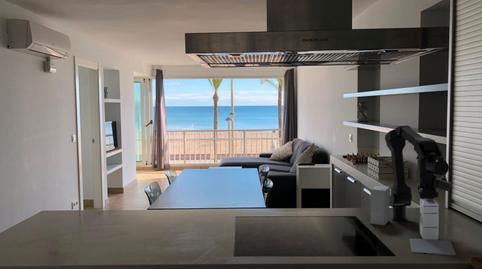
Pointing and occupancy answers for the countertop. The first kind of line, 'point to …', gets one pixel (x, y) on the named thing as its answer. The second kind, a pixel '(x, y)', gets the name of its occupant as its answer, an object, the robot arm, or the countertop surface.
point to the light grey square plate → (432, 247)
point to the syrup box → (429, 219)
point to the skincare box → (379, 204)
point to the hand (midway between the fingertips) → (427, 211)
